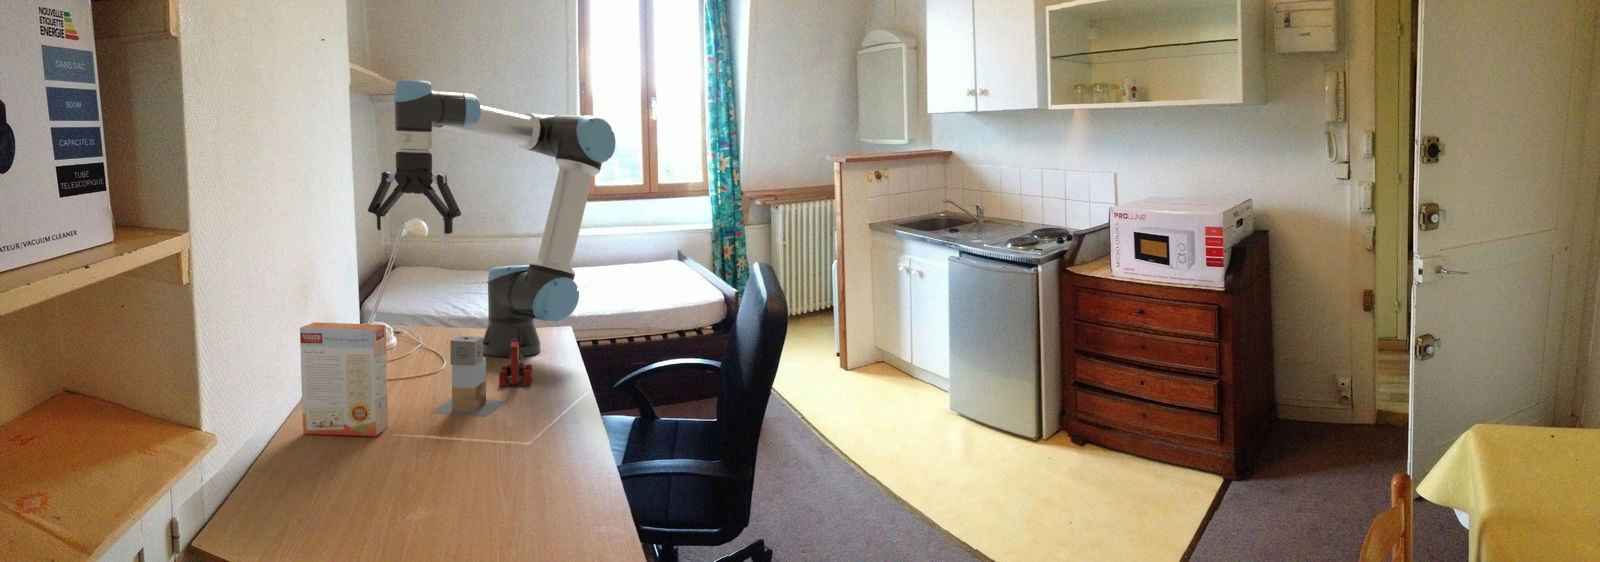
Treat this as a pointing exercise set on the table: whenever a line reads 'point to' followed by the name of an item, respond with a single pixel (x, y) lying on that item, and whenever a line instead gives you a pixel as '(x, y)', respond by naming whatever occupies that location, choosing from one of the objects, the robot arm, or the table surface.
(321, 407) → the cracker box
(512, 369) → the toy fire truck
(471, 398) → the tower base
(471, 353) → the dice cube
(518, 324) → the robot arm
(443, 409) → the mat
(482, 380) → the tower mid
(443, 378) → the table surface
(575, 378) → the table surface
